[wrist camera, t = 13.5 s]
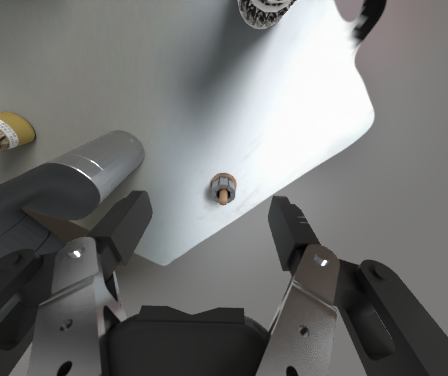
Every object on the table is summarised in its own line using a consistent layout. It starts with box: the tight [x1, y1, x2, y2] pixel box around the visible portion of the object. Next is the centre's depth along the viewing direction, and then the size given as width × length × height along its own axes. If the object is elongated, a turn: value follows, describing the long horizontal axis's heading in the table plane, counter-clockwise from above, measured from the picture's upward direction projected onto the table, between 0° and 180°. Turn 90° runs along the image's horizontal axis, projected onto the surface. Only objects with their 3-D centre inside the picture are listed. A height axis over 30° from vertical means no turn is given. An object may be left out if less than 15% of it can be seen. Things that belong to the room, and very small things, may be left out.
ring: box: [212, 176, 235, 204], centre depth 43 cm, size 6×6×4 cm
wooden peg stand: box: [211, 173, 236, 205], centre depth 42 cm, size 7×7×8 cm
